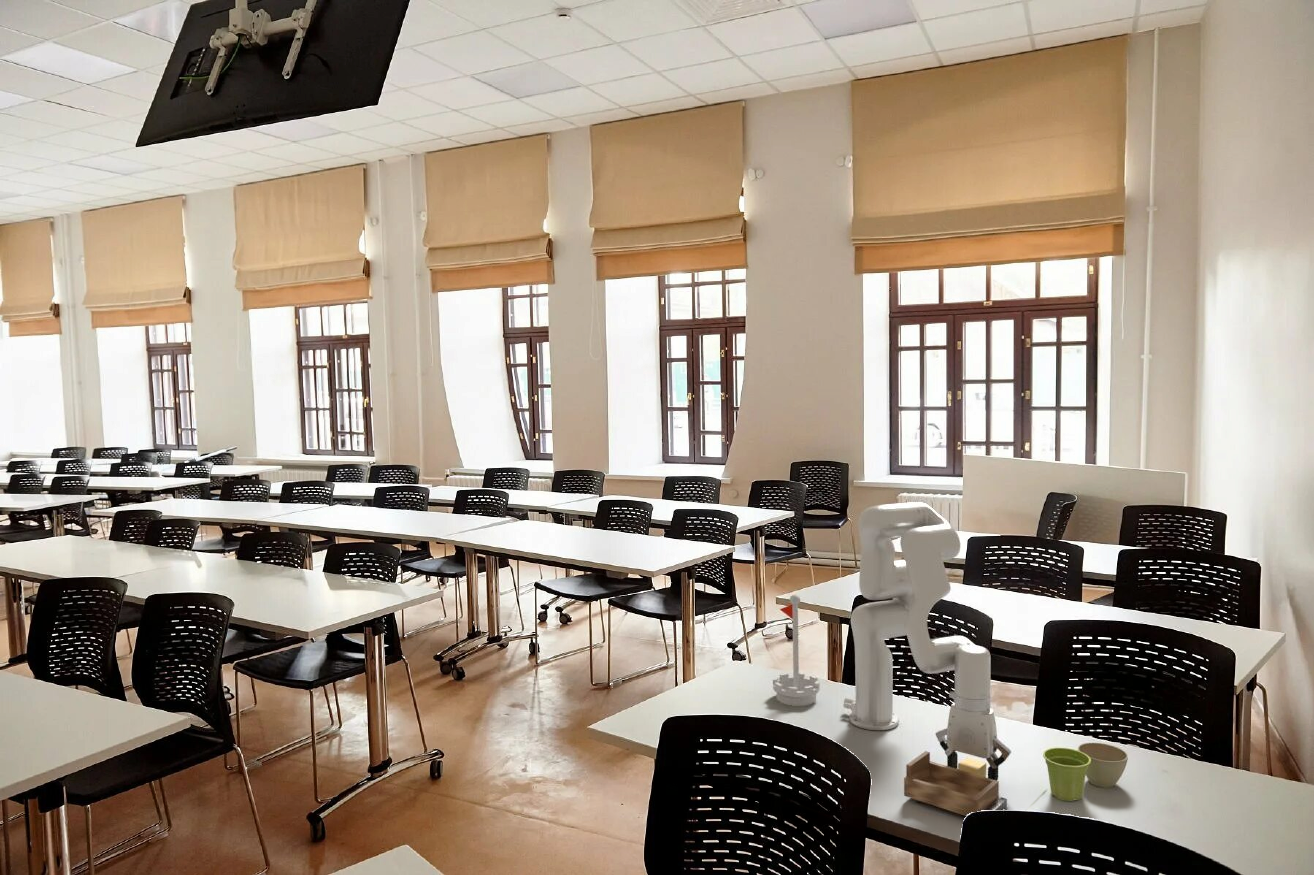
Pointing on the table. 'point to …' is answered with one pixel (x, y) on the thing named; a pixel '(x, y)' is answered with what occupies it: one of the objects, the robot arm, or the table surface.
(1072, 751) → the plant pot
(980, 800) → the wooden crate
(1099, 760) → the flower pot
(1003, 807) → the rail
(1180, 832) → the table surface
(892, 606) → the robot arm
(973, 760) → the block
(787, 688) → the flag stand
